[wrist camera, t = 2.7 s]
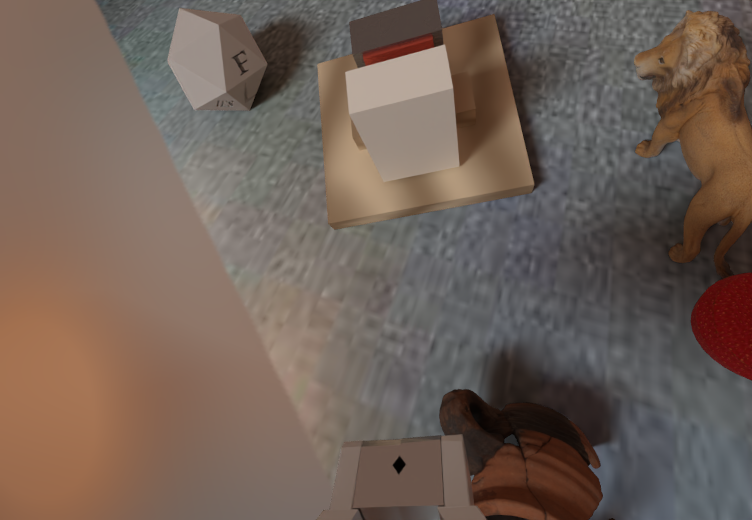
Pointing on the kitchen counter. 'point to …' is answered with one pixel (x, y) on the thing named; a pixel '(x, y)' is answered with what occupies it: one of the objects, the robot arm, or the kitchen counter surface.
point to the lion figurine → (704, 124)
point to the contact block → (396, 33)
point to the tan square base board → (474, 135)
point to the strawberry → (726, 323)
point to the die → (216, 60)
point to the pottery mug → (524, 459)
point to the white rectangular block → (406, 113)
